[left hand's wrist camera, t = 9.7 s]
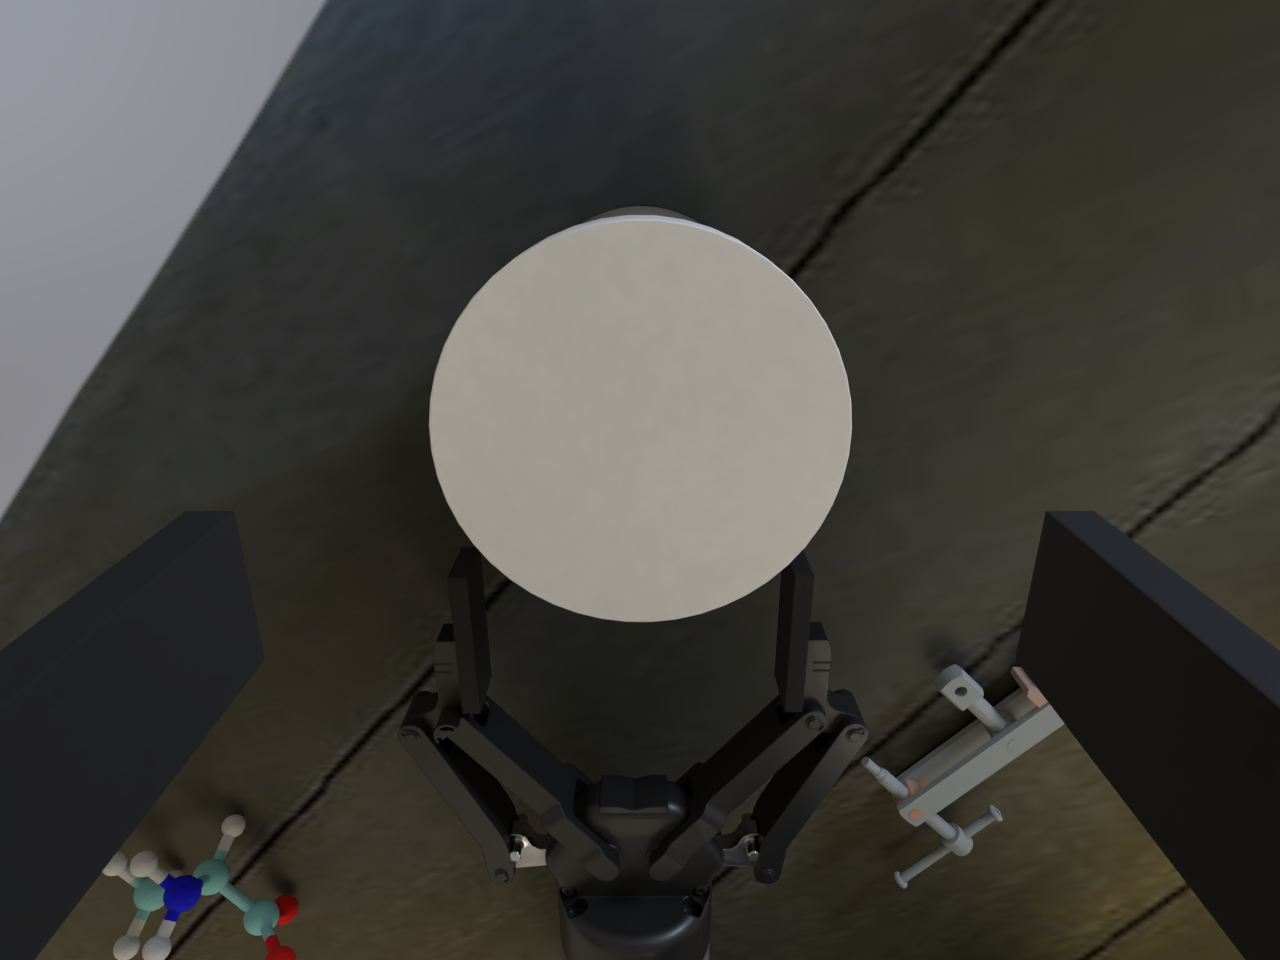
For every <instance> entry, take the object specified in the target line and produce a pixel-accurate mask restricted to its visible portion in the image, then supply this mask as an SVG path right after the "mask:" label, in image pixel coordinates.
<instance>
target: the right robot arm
mask: <svg viewBox="0 0 1280 960" xmlns="http://www.w3.org/2000/svg"><path fill="white" fill-rule="evenodd" d="M813 582H814V575H813V572H812V570H811V568H810V565H809V563H808V560H807V558H806V556H805V553H804V551H803V550H802V551H801V552H800V553H799V554H798V555H797V556H796V557H795V558H794V559H793V560H792V561H791V562H790V563H789V565H788V566H786V567H785V568H784V569H783V570H782V571H781V586H780V601H779V616H778V631H777V646H776V660H775V678H776V681H777V685H778V689H779V693H780V694H779V695H778V696H777V697H776V698H775V699H774V700H773V701H772V702H771V703H769V704H768V705H767V706H766V707H765V708H764V709H763V710H762V711H761V712H760V713H759V714H758V715H756V716H755V717H754V718H753V719H752V720H751V721H750V722H749V723H748V724H747V725H746V726H745V727H743V728H742V729H741V730H740V731H739V732H738V733H737V734H736V735H735V736H734V737H733V738H731V739H730V740H729V741H728V742H727V743H726V744H725V745H724V746H723V747H722V748H721V749H720V750H718V751H717V752H716V753H715V754H714V755H713V756H712V757H711V758H710V759H709V760H708V761H706V762H705V763H703V764H702V763H700V762H698V763H696V764H695V765H693V766H692V767H691V768H690V769H689V770H688V771H687V772H686V773H685V774H684V775H683V776H682V777H681V778H679V779H678V780H677V781H676V782H675V783H674V782H671V781H668V780H667V775H650V776H645V777H641V778H636V779H632V778H627V777H622V776H618V775H613V776H601V781H598V782H595V783H593V782H592V781H591V780H590V779H589V778H588V777H587V776H586V775H584V774H583V773H582V772H581V771H580V770H579V769H578V768H577V767H575V766H574V765H573V764H572V763H567V764H563V763H562V762H561V761H560V760H559V759H557V758H556V757H555V756H554V755H553V754H552V753H551V752H550V751H548V750H547V749H546V748H545V747H544V746H543V745H542V744H541V743H540V742H538V741H537V740H536V739H535V738H534V737H533V736H532V735H531V734H529V733H528V732H527V731H526V730H525V729H524V728H523V727H522V726H520V725H519V724H518V723H517V722H516V721H515V720H514V719H513V718H512V717H510V716H509V715H508V714H507V713H506V712H505V711H504V710H503V709H501V708H500V707H499V706H498V705H497V704H496V703H495V702H494V701H492V700H491V699H490V698H489V697H488V696H487V695H486V692H487V689H488V686H489V682H490V679H491V665H490V654H489V643H488V631H487V620H486V609H485V598H484V587H483V576H482V565H481V554H480V551H479V550H478V549H477V548H476V547H462V548H461V551H460V553H459V555H458V557H457V559H456V561H455V563H454V565H453V567H452V570H451V572H450V574H449V576H448V586H449V595H450V604H451V613H452V622H453V624H444V625H443V627H442V629H441V632H440V634H439V636H438V639H437V641H436V644H435V647H434V649H433V660H434V668H435V676H436V684H437V692H436V693H431V692H429V691H421V692H418V693H417V694H415V696H414V697H413V699H412V702H411V704H410V706H409V708H408V711H407V713H406V715H405V718H404V720H403V722H402V725H401V727H400V730H399V732H398V739H399V741H400V743H401V744H402V745H403V747H404V748H405V749H406V751H407V752H408V753H409V755H410V756H411V757H412V758H413V760H414V761H415V762H416V764H417V765H418V766H419V768H420V769H421V770H422V772H423V773H424V774H425V775H426V777H427V778H428V779H429V781H430V782H431V783H432V785H433V786H434V787H435V788H436V790H437V791H438V792H439V794H440V795H441V796H442V798H443V799H444V800H445V802H446V803H447V804H448V805H449V807H450V808H451V809H452V811H453V812H454V813H455V815H456V816H457V817H458V818H459V820H460V821H461V822H462V824H463V825H464V826H465V828H466V829H467V830H468V832H469V833H470V834H471V835H472V837H473V838H474V839H475V841H476V842H477V843H478V845H479V846H480V847H481V849H482V851H483V855H484V859H485V863H486V867H487V870H488V874H489V877H490V879H491V880H492V881H493V882H495V883H497V884H508V883H510V882H511V881H512V880H513V879H514V875H515V870H516V868H521V867H532V866H543V865H547V867H548V869H549V870H550V871H551V873H552V874H553V875H554V876H555V878H556V880H557V884H558V897H559V913H560V930H561V942H562V960H709V939H710V923H711V895H712V881H713V878H714V876H715V875H716V873H717V872H718V871H719V869H720V868H721V866H722V865H728V866H740V867H752V868H754V874H755V878H756V880H757V881H759V882H760V883H763V884H771V883H774V882H776V881H777V880H778V879H779V877H780V874H781V870H782V866H783V861H784V857H785V853H786V849H787V847H788V846H789V845H790V843H791V842H792V840H793V839H794V838H795V836H796V835H797V834H798V832H799V831H800V830H801V828H802V827H803V826H804V824H805V823H806V822H807V820H808V819H809V817H810V816H811V815H812V813H813V812H814V811H815V809H816V808H817V807H818V805H819V804H820V803H821V801H822V800H823V798H824V797H825V796H826V794H827V793H828V792H829V790H830V789H831V788H832V786H833V785H834V784H835V782H836V781H837V780H838V778H839V777H840V775H841V774H842V773H843V771H844V770H845V769H846V767H847V766H848V765H849V763H850V762H851V761H852V759H853V758H854V756H855V755H856V754H857V752H858V751H859V750H860V748H861V747H862V746H863V744H864V743H865V742H866V740H867V738H868V730H867V728H866V725H865V722H864V720H863V718H862V715H861V713H860V710H859V708H858V705H857V703H856V700H855V698H854V696H853V694H852V693H851V692H850V691H848V690H844V689H843V690H837V691H835V692H832V691H829V690H828V684H829V674H830V661H831V653H832V650H831V647H830V645H829V642H828V639H827V637H826V634H825V632H824V629H823V627H822V624H821V622H810V618H811V606H812V594H813ZM774 774H775V775H774ZM773 775H774V776H773ZM771 776H773V778H772V779H771V781H770V782H769V783H768V785H767V786H766V788H765V789H764V791H763V792H762V793H761V795H760V797H759V798H758V800H757V802H756V804H755V807H754V810H753V813H752V814H749V813H746V814H744V815H743V816H742V818H741V819H742V822H741V823H740V824H739V825H738V827H737V829H736V830H735V831H734V832H732V833H730V834H727V835H721V832H720V831H721V830H722V828H723V827H724V825H725V822H726V818H727V816H728V815H729V814H730V813H731V812H732V811H733V810H734V809H735V808H736V807H737V806H739V805H740V804H741V803H742V802H743V801H744V800H745V799H747V798H748V797H749V796H750V795H751V794H752V793H753V792H754V791H756V790H757V789H758V788H759V787H760V786H761V785H762V784H764V783H765V782H766V781H767V780H768V779H769V778H770V777H771ZM498 780H499V781H500V782H501V783H502V784H503V785H504V786H506V787H507V788H508V789H509V790H510V791H511V792H513V793H514V794H515V795H516V796H517V797H518V798H520V799H521V800H522V801H523V802H524V803H525V804H527V805H528V806H529V807H530V808H531V809H532V810H534V811H535V812H536V813H537V814H538V815H539V816H540V818H541V821H542V824H543V826H544V828H545V830H546V831H547V832H548V835H542V834H538V833H536V832H535V831H534V830H533V829H532V827H531V825H530V824H529V823H528V822H527V821H528V817H527V816H526V815H525V814H518V815H517V813H516V810H515V807H514V805H513V803H512V801H511V799H510V797H509V796H508V794H507V793H506V791H505V790H504V789H503V787H502V786H501V785H500V783H499V782H498Z"/></svg>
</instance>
